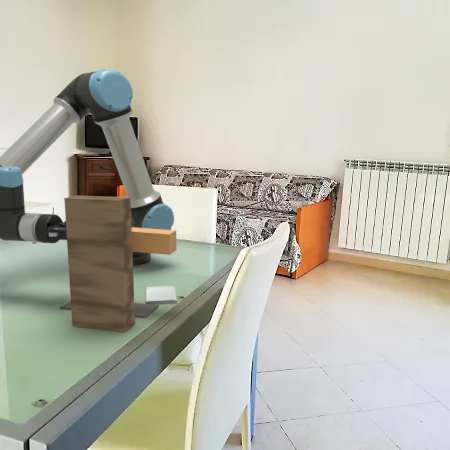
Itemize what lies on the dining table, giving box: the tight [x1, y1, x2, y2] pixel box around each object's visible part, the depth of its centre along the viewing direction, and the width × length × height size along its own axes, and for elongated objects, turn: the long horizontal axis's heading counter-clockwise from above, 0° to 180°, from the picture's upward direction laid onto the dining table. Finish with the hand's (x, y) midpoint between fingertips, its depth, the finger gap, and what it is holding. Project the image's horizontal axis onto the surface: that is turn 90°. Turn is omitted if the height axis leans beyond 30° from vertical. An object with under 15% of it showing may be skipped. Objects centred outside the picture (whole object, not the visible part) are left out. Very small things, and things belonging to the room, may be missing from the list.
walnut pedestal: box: [64, 195, 136, 333], centre depth 106 cm, size 5×14×30 cm, turn 75°
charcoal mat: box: [58, 300, 160, 319], centre depth 120 cm, size 8×24×1 cm, turn 75°
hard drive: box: [145, 285, 178, 306], centre depth 129 cm, size 2×8×12 cm
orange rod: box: [132, 227, 178, 256], centre depth 115 cm, size 4×22×5 cm, turn 75°
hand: (124, 233), depth 115 cm, fingers closed on orange rod, 4 cm apart
